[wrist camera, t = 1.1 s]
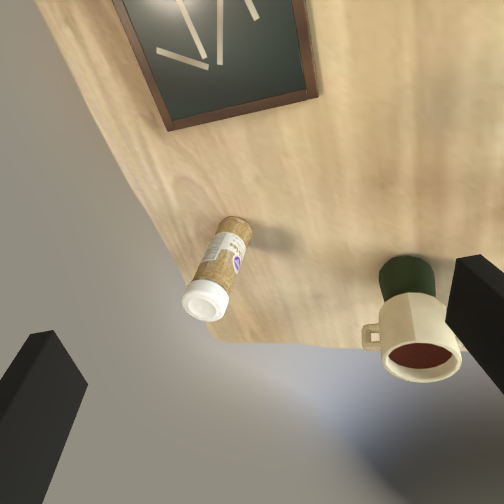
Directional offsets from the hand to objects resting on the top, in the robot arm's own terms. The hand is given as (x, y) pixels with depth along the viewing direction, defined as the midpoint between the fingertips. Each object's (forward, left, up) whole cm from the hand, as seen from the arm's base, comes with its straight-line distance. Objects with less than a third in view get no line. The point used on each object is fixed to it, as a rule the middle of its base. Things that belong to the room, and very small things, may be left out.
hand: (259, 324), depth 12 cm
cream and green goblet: (+23, +7, -27) cm, 37 cm away
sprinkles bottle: (+14, -13, -27) cm, 33 cm away
